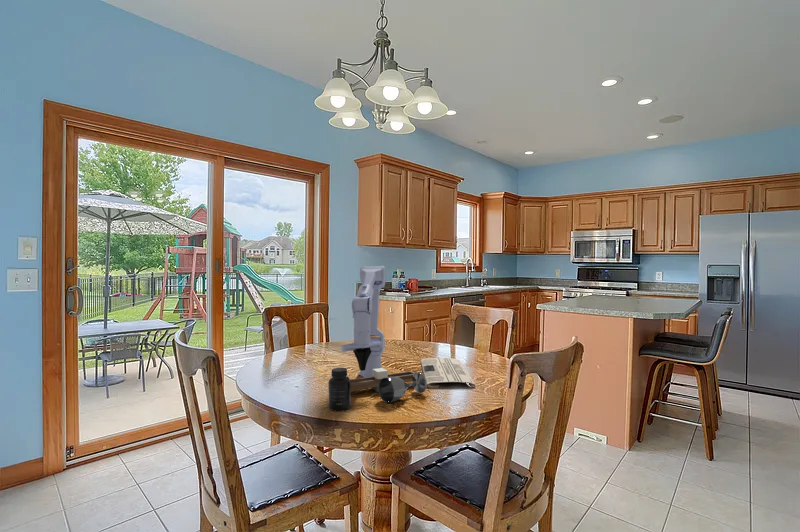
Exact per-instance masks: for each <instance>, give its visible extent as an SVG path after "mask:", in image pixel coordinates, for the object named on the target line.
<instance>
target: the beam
mask: <svg viewBox="0 0 800 532" xmlns="http://www.w3.org/2000/svg"><path fill="white" fill-rule="evenodd" d="M415 373H416V372H415V371H412V370H409V371H401V372H394V373H388V377H399V378H401V379H402V380H403V381H404V382H405V383H412V378H413V375H414V374H415ZM349 379H350V378H349ZM380 380H381V379H375V378H374V377H373V376H372V377H365V378H364V377H359V378H351V379H350V389H351V392H352V391H358V390H359V391H360V390H365V389H372V390H373V391H374V392H375V393H379V389H378V386H379V382H380Z"/></svg>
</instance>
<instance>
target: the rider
mask: <svg viewBox="0 0 800 532" xmlns="http://www.w3.org/2000/svg"><path fill="white" fill-rule="evenodd" d="M388 371H389V370H387V369H386V368H384V367H381V368H378V369H373V377H374V378H375V379H383V378H386V377H388V374H389V372H388Z"/></svg>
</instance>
